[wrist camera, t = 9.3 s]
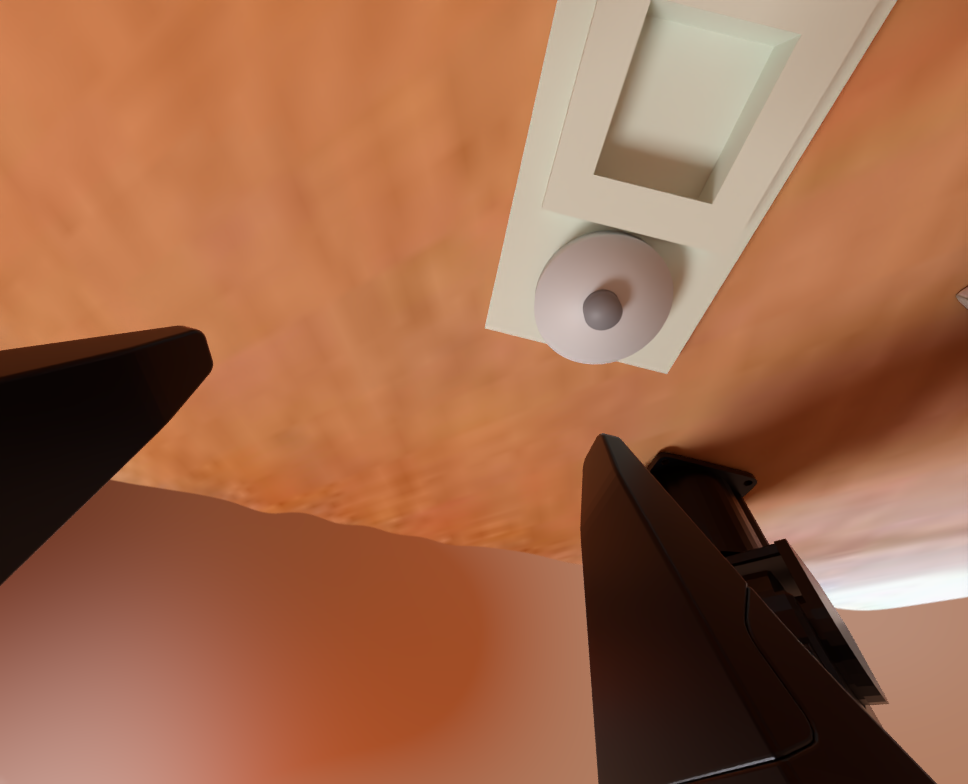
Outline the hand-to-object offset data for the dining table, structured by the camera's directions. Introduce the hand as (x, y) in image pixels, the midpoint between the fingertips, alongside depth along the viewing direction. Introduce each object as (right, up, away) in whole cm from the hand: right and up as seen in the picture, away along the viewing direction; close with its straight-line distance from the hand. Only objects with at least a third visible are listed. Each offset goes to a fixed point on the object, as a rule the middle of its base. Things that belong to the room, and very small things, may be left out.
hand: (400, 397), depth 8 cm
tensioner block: (+8, +8, +7) cm, 14 cm away
